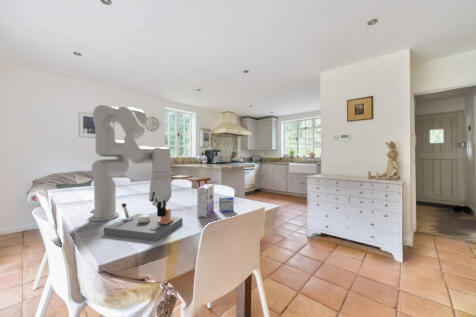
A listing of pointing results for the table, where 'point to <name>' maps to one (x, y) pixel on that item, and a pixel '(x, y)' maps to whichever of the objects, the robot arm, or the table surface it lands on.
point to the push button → (143, 218)
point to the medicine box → (226, 204)
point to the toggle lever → (125, 210)
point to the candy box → (205, 200)
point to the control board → (142, 228)
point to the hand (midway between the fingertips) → (161, 215)
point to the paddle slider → (166, 217)
